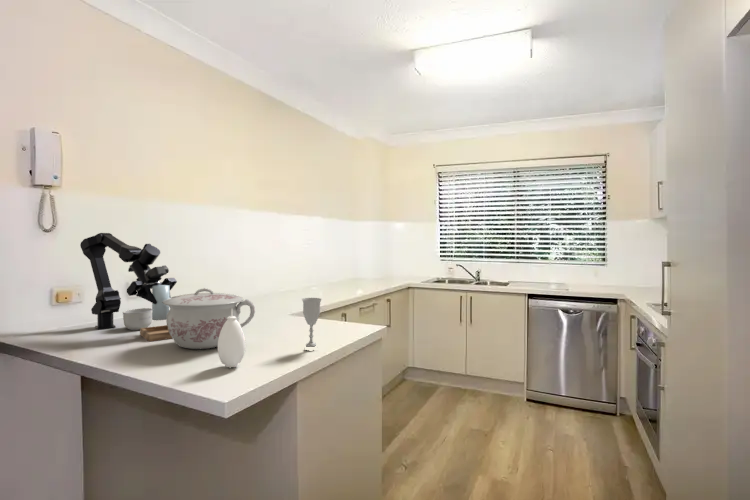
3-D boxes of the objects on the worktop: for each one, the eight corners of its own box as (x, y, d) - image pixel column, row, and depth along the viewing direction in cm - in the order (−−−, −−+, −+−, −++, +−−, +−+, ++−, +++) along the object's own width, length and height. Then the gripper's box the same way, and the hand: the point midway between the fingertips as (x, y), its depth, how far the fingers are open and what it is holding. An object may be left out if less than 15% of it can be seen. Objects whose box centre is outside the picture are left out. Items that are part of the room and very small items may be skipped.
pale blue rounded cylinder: (148, 320, 161) (149, 286, 160) (157, 317, 167) (157, 284, 166) (164, 320, 161) (164, 286, 160) (172, 317, 167) (172, 285, 166)
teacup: (142, 331, 171) (142, 312, 171) (116, 331, 171) (116, 311, 171) (161, 324, 185) (161, 306, 185) (136, 324, 185) (136, 306, 185)
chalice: (325, 349, 148) (325, 299, 148) (309, 353, 143) (310, 301, 143) (312, 345, 153) (312, 297, 153) (297, 349, 148) (297, 298, 148)
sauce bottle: (237, 361, 132) (237, 305, 132) (249, 367, 127) (250, 308, 126) (213, 366, 127) (213, 307, 126) (225, 372, 121) (225, 311, 121)
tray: (140, 334, 166) (140, 328, 165) (172, 330, 174) (172, 324, 174) (149, 341, 155) (149, 334, 155) (183, 337, 163) (183, 330, 163)
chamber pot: (144, 348, 146) (144, 289, 146) (208, 333, 171) (208, 282, 170) (199, 360, 133) (199, 295, 133) (260, 342, 158) (260, 287, 157)
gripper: (131, 260, 156) (152, 291, 152) (173, 258, 173) (193, 286, 169) (117, 279, 160) (137, 311, 155) (160, 276, 177) (179, 304, 173)
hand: (163, 302), depth 163 cm, fingers closed on pale blue rounded cylinder, 6 cm apart
